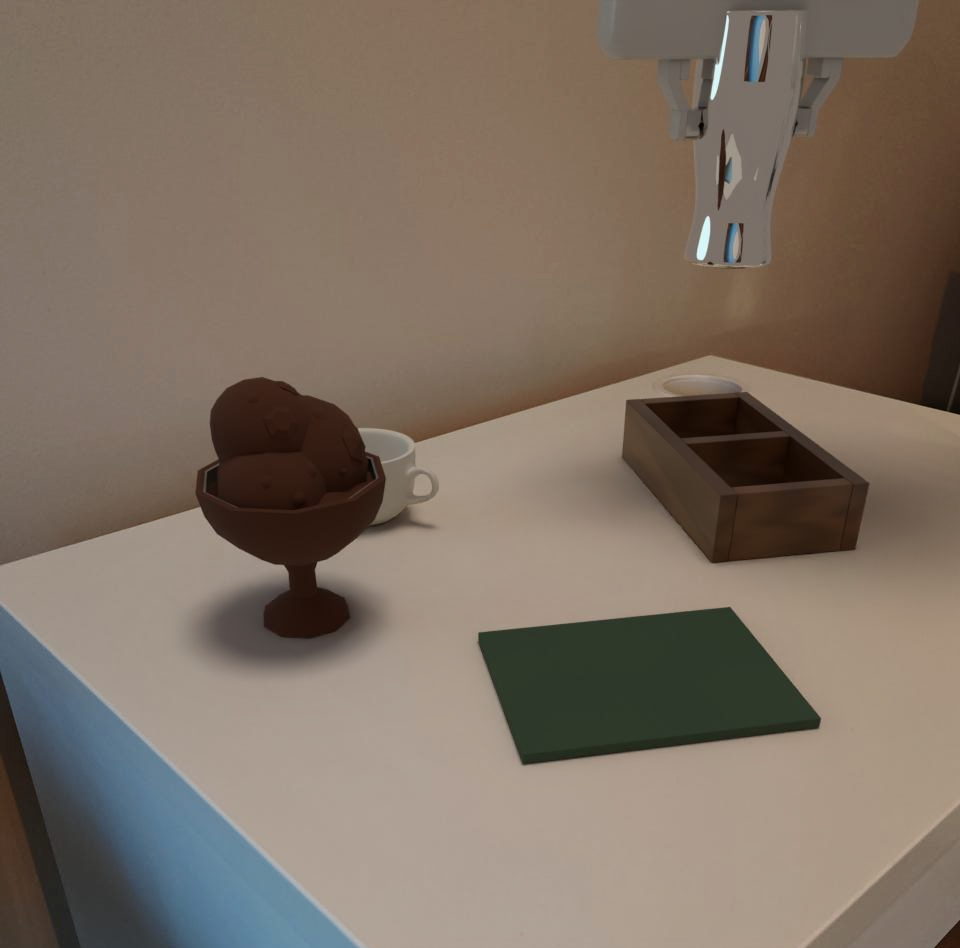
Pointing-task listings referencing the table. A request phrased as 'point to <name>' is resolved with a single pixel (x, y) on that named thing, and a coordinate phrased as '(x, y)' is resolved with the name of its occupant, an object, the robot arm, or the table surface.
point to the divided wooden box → (742, 477)
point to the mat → (638, 684)
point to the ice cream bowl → (289, 492)
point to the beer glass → (744, 134)
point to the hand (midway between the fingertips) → (742, 138)
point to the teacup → (396, 470)
